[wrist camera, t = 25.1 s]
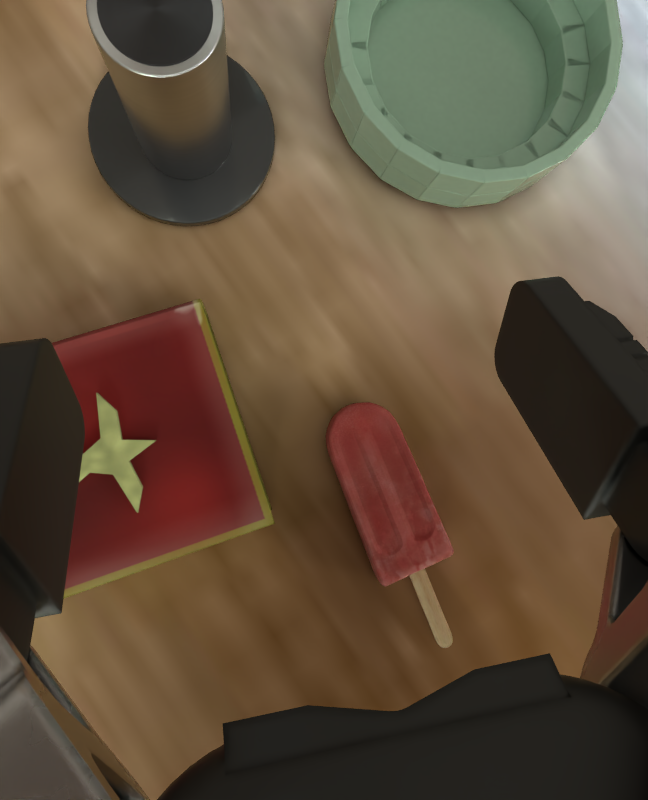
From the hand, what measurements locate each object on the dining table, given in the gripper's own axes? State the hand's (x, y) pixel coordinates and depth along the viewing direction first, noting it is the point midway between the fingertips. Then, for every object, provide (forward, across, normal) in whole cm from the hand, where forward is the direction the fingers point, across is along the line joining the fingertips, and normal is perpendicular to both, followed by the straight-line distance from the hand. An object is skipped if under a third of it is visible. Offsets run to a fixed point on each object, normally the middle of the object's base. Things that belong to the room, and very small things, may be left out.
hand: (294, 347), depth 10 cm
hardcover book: (+14, +12, +18) cm, 25 cm away
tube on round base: (+27, +2, +3) cm, 28 cm away
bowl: (+27, -14, +4) cm, 31 cm away
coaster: (+26, +2, +6) cm, 26 cm away
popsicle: (+9, -6, +22) cm, 25 cm away
